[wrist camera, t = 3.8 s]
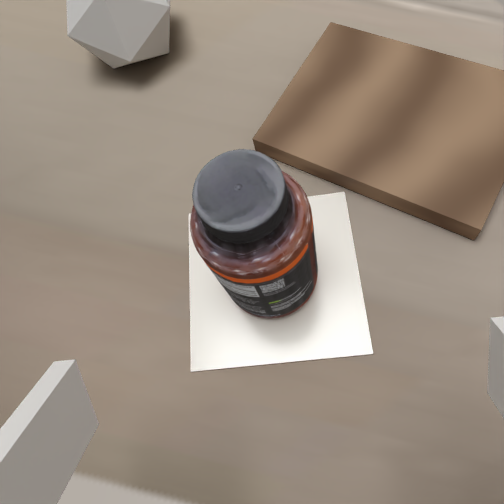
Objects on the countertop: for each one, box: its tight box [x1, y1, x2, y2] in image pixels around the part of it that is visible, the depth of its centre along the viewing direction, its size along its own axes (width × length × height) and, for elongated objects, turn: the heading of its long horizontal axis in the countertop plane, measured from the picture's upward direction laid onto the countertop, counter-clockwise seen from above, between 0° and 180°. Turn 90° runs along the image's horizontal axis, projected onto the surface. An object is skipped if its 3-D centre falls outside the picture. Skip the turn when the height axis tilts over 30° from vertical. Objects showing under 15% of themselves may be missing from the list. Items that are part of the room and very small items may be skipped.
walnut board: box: [253, 22, 504, 240], centre depth 31 cm, size 16×12×2 cm
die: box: [67, 0, 170, 69], centre depth 36 cm, size 8×9×10 cm
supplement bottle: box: [190, 149, 318, 319], centre depth 24 cm, size 6×6×11 cm
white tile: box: [189, 192, 373, 372], centre depth 29 cm, size 11×11×1 cm
